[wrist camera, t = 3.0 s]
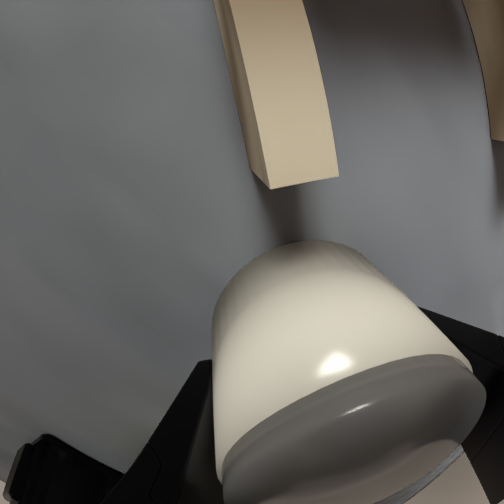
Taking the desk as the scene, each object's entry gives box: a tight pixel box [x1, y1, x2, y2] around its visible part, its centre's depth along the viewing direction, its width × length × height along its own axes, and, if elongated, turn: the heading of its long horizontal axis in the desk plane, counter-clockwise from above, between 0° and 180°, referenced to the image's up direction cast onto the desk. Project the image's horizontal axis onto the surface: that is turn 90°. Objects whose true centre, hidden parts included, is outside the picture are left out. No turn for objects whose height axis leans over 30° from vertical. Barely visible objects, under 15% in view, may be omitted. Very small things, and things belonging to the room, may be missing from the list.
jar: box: [212, 240, 486, 504], centre depth 7 cm, size 6×6×6 cm
